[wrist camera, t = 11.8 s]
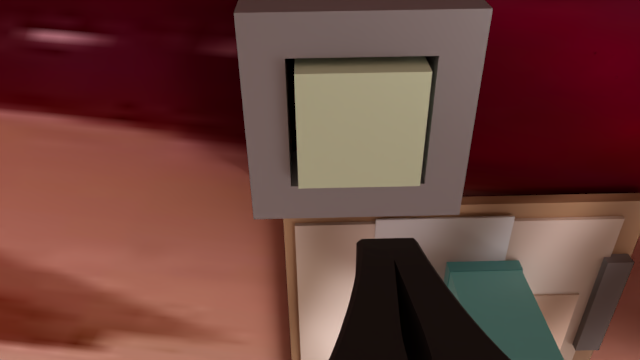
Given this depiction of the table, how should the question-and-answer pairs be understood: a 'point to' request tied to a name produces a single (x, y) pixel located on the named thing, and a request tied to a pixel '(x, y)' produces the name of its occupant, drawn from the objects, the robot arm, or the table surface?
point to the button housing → (359, 41)
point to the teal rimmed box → (503, 307)
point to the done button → (361, 120)
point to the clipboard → (477, 245)
